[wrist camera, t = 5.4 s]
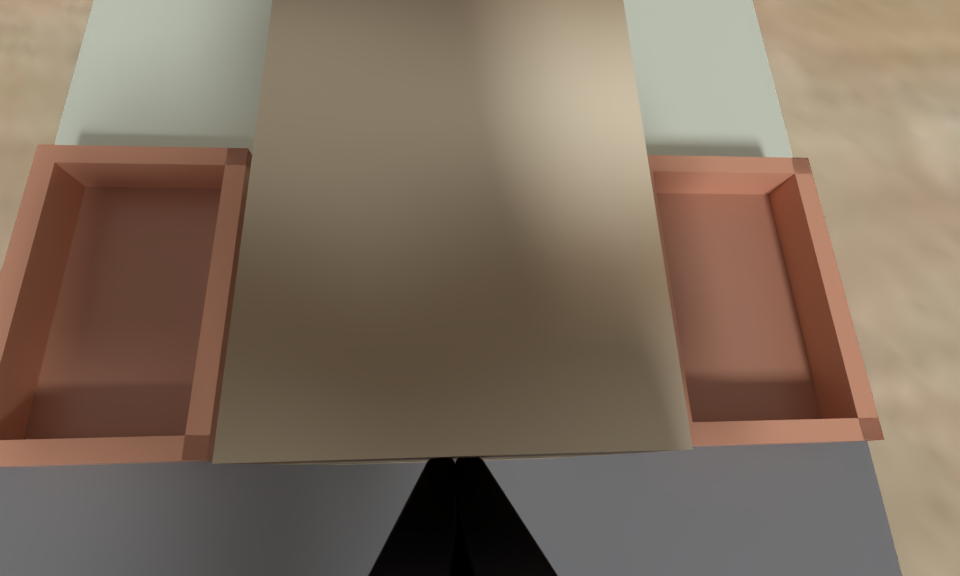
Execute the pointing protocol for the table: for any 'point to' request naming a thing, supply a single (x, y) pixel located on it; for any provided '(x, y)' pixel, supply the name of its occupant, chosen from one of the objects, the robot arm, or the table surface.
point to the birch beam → (449, 241)
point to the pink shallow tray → (758, 304)
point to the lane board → (386, 487)
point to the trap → (119, 304)
